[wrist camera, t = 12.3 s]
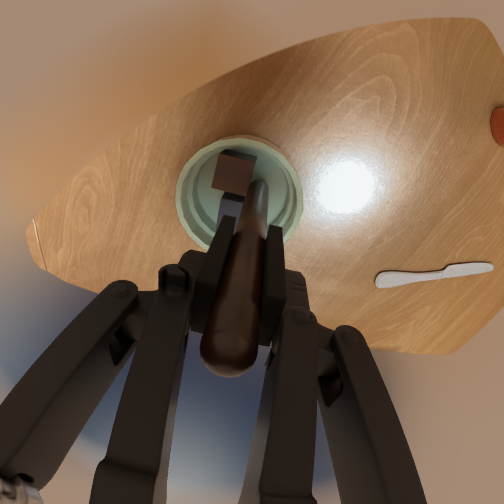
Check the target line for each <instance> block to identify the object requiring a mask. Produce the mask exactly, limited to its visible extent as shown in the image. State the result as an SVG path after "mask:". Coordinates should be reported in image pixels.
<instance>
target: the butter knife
mask: <svg viewBox="0 0 504 504" xmlns="http://www.w3.org/2000/svg"><path fill="white" fill-rule="evenodd" d="M488 271H493V265H492V264H490V263H467V264H457V265H449V266H447V268H446V269H445V270H443V271H435V272H424V273H410V272H394V271H392V272H382V273H380V274H379V275H378V276H377V278H376V281H375V284H376V286H377V287H378V288H390V287H395V286H399V285H404V284H408V283H412V282H417V281H424V280H434V279H441V278H449V277H458V276H466V275H472V274H478V273H484V272H488Z"/></svg>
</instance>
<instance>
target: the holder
mask: <svg viewBox="0 0 504 504" xmlns="http://www.w3.org/2000/svg"><path fill="white" fill-rule="evenodd" d="M491 131H492V134H493V137H494V139H495V141H496V142H497V143H498V144H499V145H501V146H503V147H504V108H497V109H495V110H494V111H493V113H492V116H491Z"/></svg>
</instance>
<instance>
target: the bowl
mask: <svg viewBox="0 0 504 504" xmlns="http://www.w3.org/2000/svg"><path fill="white" fill-rule="evenodd" d="M226 149H229V150H233V151H237V152H241V153H245V154H249V155H252V156H256V157H257V161H256V164H255V168H254V171H253V175H252V178H251V182H253V181H254V180H258V179H260V180H263V181H265V182H266V183H267V184H268V187H269V198H268V214H267V230H266V236H267V232H268V228H269V224H270V225H275V226H279V227H282V229H283V244H285V243H286V242H287V241H288V240H289V238H290V237H291V236H292V234H293V233H294V231H295V230H296V229H297V227H298V225H299V222H300V218H301V215H302V212H303V189H302V186H301V183H300V181H299V178H298V176H297V173H296V171H295V168H294V166H293V163H292V162H291V160H290V159H289V158H288V157H287V155H286V154H285V153H284V152H283V151H282V150H281V149H280V148H279V147H278V146H276V145H274V144H273V143H271V142H269V141H267V140H266V139H264V138H261V137H256V136H251V135H246V134H242V135H233V136H226V137H224V138H222V139H219V140H217V141H215V142H213V143H211V144H209V145H207V146H205V147H204V148H202V149H200V150H199V151H198V152H197V153H196V154H195V155H194V156H193V157H192V158H191V159H190V160H189V161H188V162H187V163H186V164H185V166H184V168H183V170H182V172H181V174H180V176H179V178H178V180H177V186H176V195H175V203H176V208H177V212H178V217H179V220H180V221H181V223H182V225H183V227H184V228H185V230H186V232H187V234H188V235H189V236H190V237H191V238H192V239H193V240H194V241H195V242H196V243H197V244H198V245H199V246H200V247H202V248H204V249H205V250H207V251H208V249H209V247H210V244H211V242H212V240H213V237H214V235H215V233H216V231H217V230H216V224H217V218H218V212H219V206H220V200H221V197H222V196H223V194H224V192H225V191H222V190H218V189H214V188H211V186H212V181H213V177H214V172H215V168H216V164H217V160H218V156H219V153H220V152H222V151H223V150H226ZM251 182H250V184H251Z"/></svg>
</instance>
